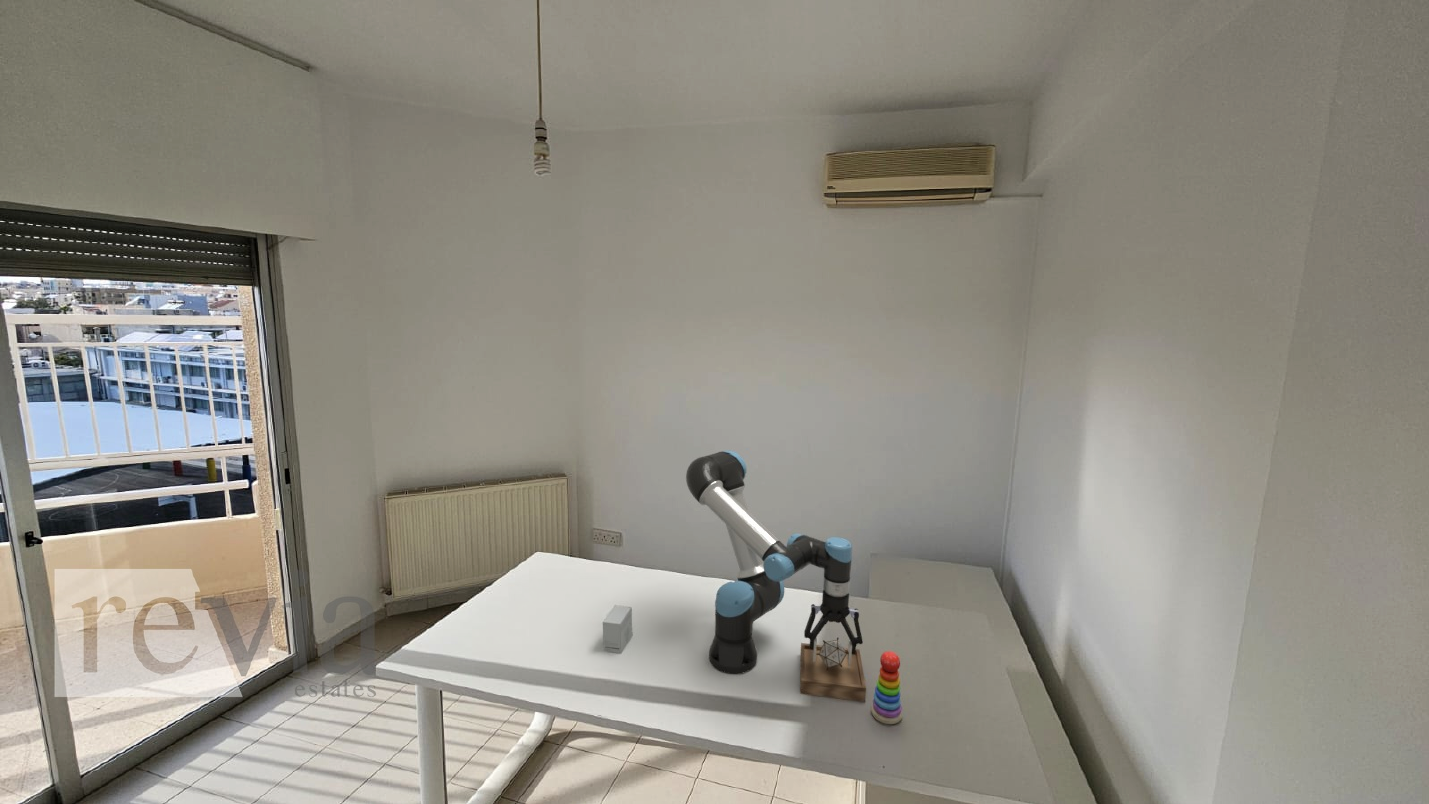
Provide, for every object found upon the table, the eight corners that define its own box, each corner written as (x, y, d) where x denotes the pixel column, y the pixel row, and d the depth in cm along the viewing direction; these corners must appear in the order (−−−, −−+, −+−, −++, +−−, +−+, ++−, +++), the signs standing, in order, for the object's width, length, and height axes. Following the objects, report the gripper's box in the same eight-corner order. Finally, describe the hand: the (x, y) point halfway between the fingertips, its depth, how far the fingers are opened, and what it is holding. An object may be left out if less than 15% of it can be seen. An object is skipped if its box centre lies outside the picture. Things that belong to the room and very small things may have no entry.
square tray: (800, 693, 154) (801, 680, 154) (800, 655, 172) (801, 643, 171) (865, 701, 152) (866, 688, 151) (858, 661, 169) (859, 649, 169)
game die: (836, 680, 160) (849, 668, 153) (810, 667, 161) (821, 655, 154) (842, 652, 167) (855, 639, 160) (817, 639, 168) (828, 626, 161)
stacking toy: (866, 705, 150) (871, 643, 147) (894, 704, 151) (899, 642, 148) (877, 726, 142) (882, 662, 140) (906, 725, 143) (912, 661, 140)
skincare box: (614, 632, 182) (614, 604, 180) (632, 635, 181) (632, 606, 179) (602, 651, 172) (601, 621, 170) (621, 654, 171) (621, 623, 169)
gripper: (797, 593, 156) (793, 664, 159) (876, 601, 152) (871, 673, 156) (797, 581, 163) (794, 649, 166) (873, 588, 159) (868, 657, 163)
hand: (831, 660), depth 161 cm, fingers closed on game die, 9 cm apart
